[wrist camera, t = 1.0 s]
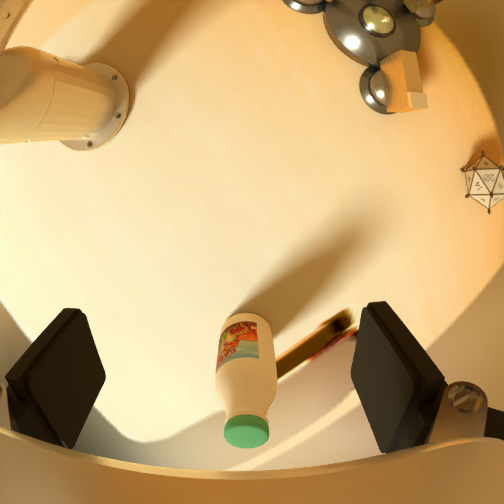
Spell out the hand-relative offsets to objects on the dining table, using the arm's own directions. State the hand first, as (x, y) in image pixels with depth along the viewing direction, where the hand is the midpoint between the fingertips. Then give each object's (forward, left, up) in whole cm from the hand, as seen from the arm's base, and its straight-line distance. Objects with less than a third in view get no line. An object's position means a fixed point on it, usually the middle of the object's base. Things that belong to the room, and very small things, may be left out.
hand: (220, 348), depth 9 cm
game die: (+32, +18, -31) cm, 48 cm away
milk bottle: (+9, -19, -31) cm, 37 cm away
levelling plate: (+4, +31, -31) cm, 44 cm away
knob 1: (+12, +22, -31) cm, 40 cm away
